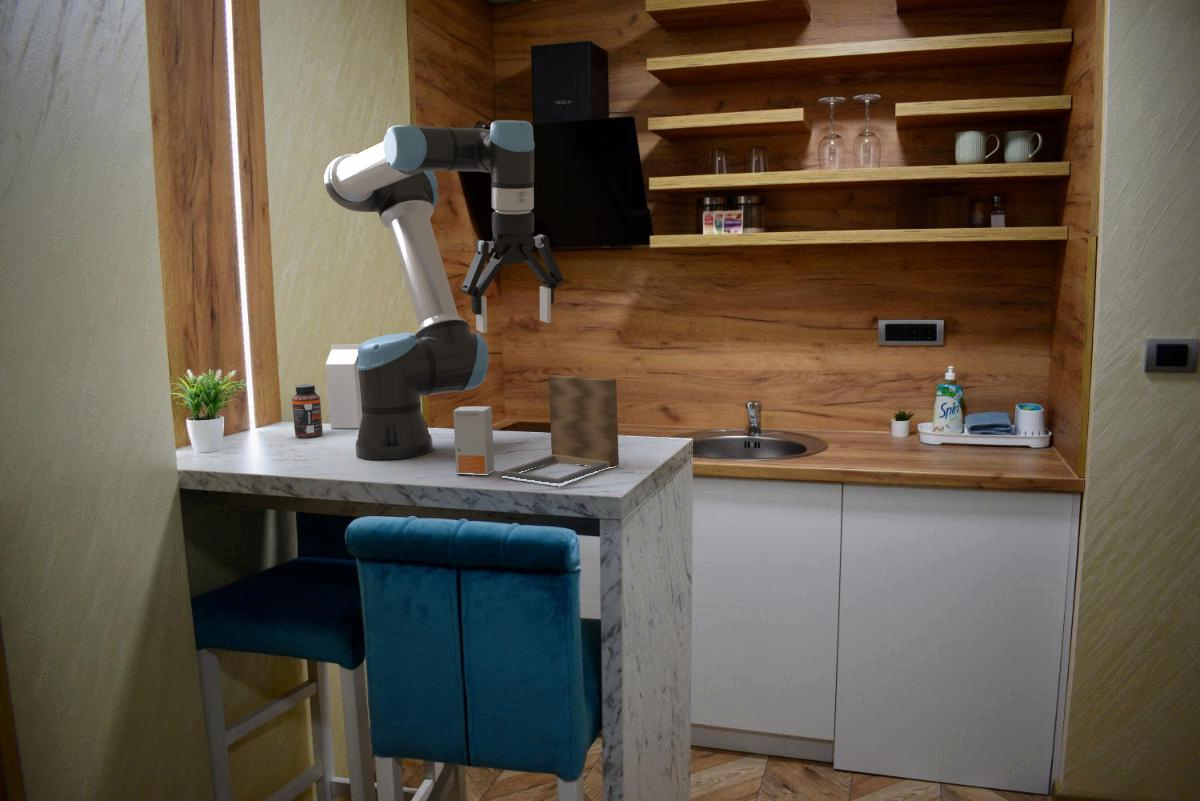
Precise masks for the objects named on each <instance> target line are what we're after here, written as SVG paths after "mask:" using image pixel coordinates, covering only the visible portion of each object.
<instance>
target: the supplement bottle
mask: <svg viewBox="0 0 1200 801" xmlns="http://www.w3.org/2000/svg"><path fill="white" fill-rule="evenodd" d="M295 392H296V393H295V395H293V397H292V398H291V401H292V414H293V416H292V417H293V426H294V427H293V428H294V435H295V437H297V438H302V439H303V438H306V439H307V438H315V437H319V436H321V435H322V434H323V432H324V431H323V421H322V420H323V419H322V405H321V397H320V395H319V393H317V392H316V387H315V384H299V385H296V386H295Z"/></svg>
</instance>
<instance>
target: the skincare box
mask: <svg viewBox="0 0 1200 801" xmlns="http://www.w3.org/2000/svg"><path fill="white" fill-rule="evenodd" d="M452 414H453V430H454V431H453V432H454V450H455V451H454V452H455V469H456V470H455V471H456V474H457V473H474V474H488V473H490V472H491V471H493V470H494V471H495V454H494V452H495V450H494V447H495V446H494V429H493V407H492V406H477V405H476V406H475V405H473V406H459V407H457V408H455V409H454V410H453V413H452ZM494 471H493V472H494Z"/></svg>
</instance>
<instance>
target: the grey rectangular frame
mask: <svg viewBox="0 0 1200 801" xmlns="http://www.w3.org/2000/svg"><path fill="white" fill-rule="evenodd" d="M552 462H553V463H559V462H561V463H560V464H566V463H569V464H568V465H573V464H579V465H578V466H580V465H588V466H591V467H585V468H584V469H580V470H578V471H575V472H572V473H568V474H566V475H563V476H561V477H556V478H555V477H550V476H545V475H544V476H543V475H538V474H537V475H536V474H530V473H526V472H524V473H519V472H521V471H525V470H528V469H531V468H535V467H539V466H542V465H545V464H547V465H550V464H553V463H552ZM549 463H550V464H549ZM545 466H546V465H545ZM542 467H543V466H542ZM608 467H610V462H608V461H601V460H594V459H586V458H579V457H572V456H564V455H557V454H552V453H551V454H550V455H547V456H544V457H540V458H538V459H535V460H532V461H531V460H530V461H528V462H526V463H522V464H520V465H517V466H513V467H510V468H507V469H504V470H501V471H500V477H501V476H508V477H515V478H520V479H527V480H535V481H541V482H549V483H558V484H559V483H563V482H565V481H569V480H572V479H575V478H578V477H581V476H584V475H586V474H589V473H593V472H595V471H599V470H602V469H605V468H608ZM539 468H540V467H539Z"/></svg>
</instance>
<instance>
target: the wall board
mask: <svg viewBox="0 0 1200 801" xmlns="http://www.w3.org/2000/svg"><path fill="white" fill-rule="evenodd" d="M547 379H548V398H549V421H550V422H549V423H550V424H549V425H550V443H551V455H552V454H557V455H564V456H572V457H579V458H586V459H594V460H601V461H608V462H610V467H614V466H617V465H619V466H620V463H619V460H620V458H619V427H618V426H619V425H618V424H619V423H618V399H617V398H618V397H617V396H618V392H617V390H618V389H617V378H616V379H613V378H599V377H585V376H576V375H575V376H574V375H573V376H572V375H563V374H562V375H560V374H554V375H553V374H552V375H550V376H548V378H547Z"/></svg>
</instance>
